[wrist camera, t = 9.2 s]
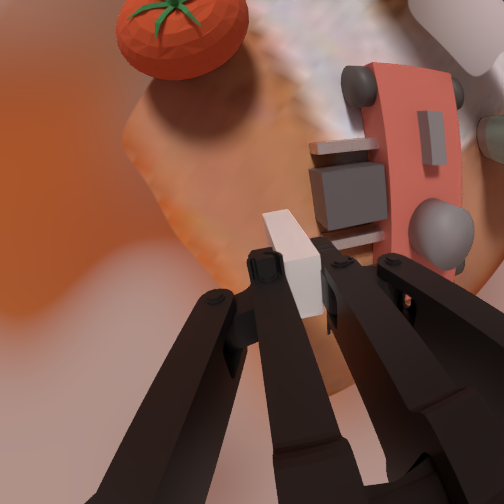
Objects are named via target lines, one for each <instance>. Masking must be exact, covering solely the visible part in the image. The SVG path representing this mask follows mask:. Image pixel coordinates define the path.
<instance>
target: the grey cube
mask: <svg viewBox="0 0 504 504" xmlns="http://www.w3.org/2000/svg"><path fill="white" fill-rule="evenodd" d="M309 176H310V182H311V189H312V196H313V203H314V211H315V218H316V220H317V221H318V222H319V223H320V224H321V225H323V226H324V227H325V228H326V229H327V230H328V231H331V230H336V229H340V228H345V227H350V226H355V225H359V224H364V223H369V222H374V221H379V220H383V219H388V217H387V197H386V183H385V172H384V165H383V164H378V163H373V162H367V161H360V162H353V163H345V164H338V165H331V166H324V167H318V168H312V169H309Z"/></svg>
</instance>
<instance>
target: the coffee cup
mask: <svg viewBox="0 0 504 504" xmlns="http://www.w3.org/2000/svg"><path fill="white" fill-rule="evenodd" d="M477 140H478V145H479V148H480V150H481V152H482V154H483V155H484V156H485V157H486V158H489V159H491V160H494V161H496V162H499V163H501V164H504V115H501V116H490V117H483V118H482V119H481V120H480V122H479V124H478V128H477Z"/></svg>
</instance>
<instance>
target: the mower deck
mask: <svg viewBox="0 0 504 504" xmlns="http://www.w3.org/2000/svg"><path fill="white" fill-rule="evenodd" d="M341 86H342V92H343V95H344V98H345V100H346V102H347V103H348V105H349V106H351V107H361V112H362V118H363V124H364V131H365V138H378V145H379V149H369V150H367V155H368V162H373V163H378V164H383V165H384V172H385V183H386V197H387V217H388V219H383V220H379V221H374V222H372V223H373V224H374V225H376V226H377V227H379V228H381V229H382V230H384V240H382V241H378V242H373V265H369V266H377V259H378V257H379V256H381V255H383V254H387V253H397V254H401V255H404V256H406V257H408V258H410V259H412V260H414V261H415V262H417V263H419V264H421V265H423V266H425V267H427V268H428V269H430V270H432V271H434V272H436V273H437V274H439V275H441V276H443V277H444V278H446V279H448V280H450V281H451V282H453V283H454V277H455V276H456V275H458V274H460V273H462V271H463V270H464V267H465V258H466V256H467V255H468V253H469V251H470V249H471V246H472V243H473V239H474V223H473V219H472V217H471V215H470V214H469V212H468V211H466V210H465V209H462V158H461V142H460V131H459V122H458V114H457V110H459V109H460V108H461V107H462V105H463V102H464V92H463V89H462V86H461V84H460V83H459V82H458V81H457V80H456V79H455V78H453V77H451V74H450V73H447V72H443V71H437V70H432V69H426V68H420V67H414V66H406V65H398V64H389V63H377V62H372V63H370V64H367V65H365V66H346V67H345V68H344V69H343V72H342V76H341ZM408 299H411V297H409V296H408V295H406V299H405V300H408Z"/></svg>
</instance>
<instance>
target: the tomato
mask: <svg viewBox="0 0 504 504" xmlns="http://www.w3.org/2000/svg"><path fill="white" fill-rule="evenodd" d="M248 24H249V15H248V7H247V4H246V1H245V0H127V1H126V2H125V4H124V5H123V7H122V9H121V11H120V14H119V16H118V19H117V25H116V37H117V42H118V46H119V49H120V51H121V53H122V55H123V56H124V57H125V58H126V60H127V61H128V62H129V63H130V65H131V66H133V67H134V68H135V69H137V70H138V71H140V72H142V73H144V74H147V75H149V76H152V77H154V78H159V79H163V80H183V79H190V78H194V77H198V76H201V75H204V74H206V73H208V72H211V71H213V70H215V69H216V68H218V67H219V66H221V65H222V64H224V63H225V62H226V61H227V60H228V59H230V58H231V57H232V56H233V55H234V53H235V52H236V51H237V50H238V48H239V47H240V45H241V44H242V41H243V39H244V37H245V35H246V33H247V29H248Z"/></svg>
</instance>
